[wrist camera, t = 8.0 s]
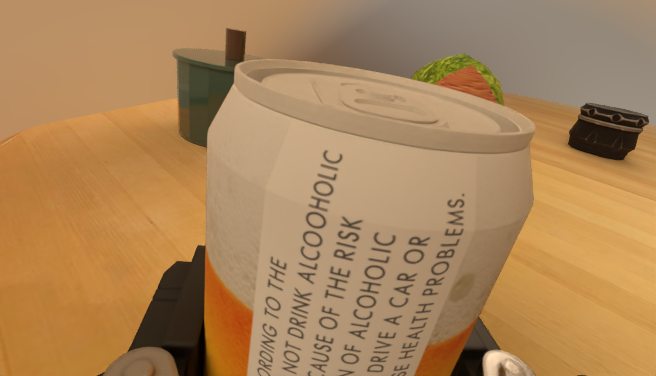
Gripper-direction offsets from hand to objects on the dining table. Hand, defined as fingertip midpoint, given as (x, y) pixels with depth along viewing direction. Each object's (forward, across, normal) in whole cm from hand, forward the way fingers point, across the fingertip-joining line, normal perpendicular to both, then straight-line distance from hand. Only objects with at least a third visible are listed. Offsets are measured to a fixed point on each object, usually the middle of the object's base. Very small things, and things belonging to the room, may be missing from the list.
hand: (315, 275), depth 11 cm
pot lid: (+39, +7, -1) cm, 40 cm away
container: (+58, -73, +9) cm, 93 cm away
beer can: (-2, 0, +9) cm, 9 cm away
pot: (+39, +7, +8) cm, 41 cm away
